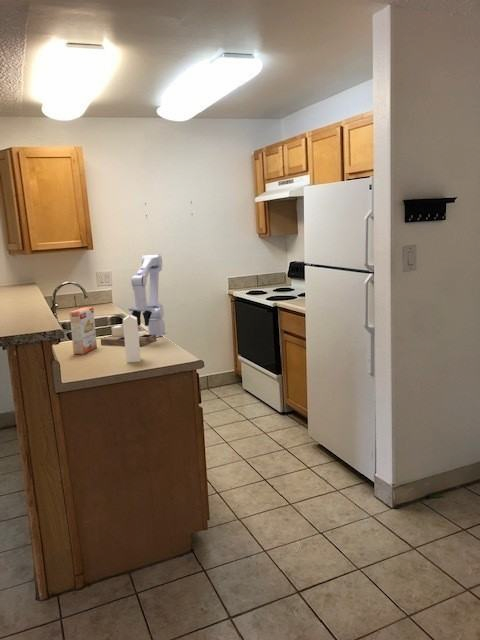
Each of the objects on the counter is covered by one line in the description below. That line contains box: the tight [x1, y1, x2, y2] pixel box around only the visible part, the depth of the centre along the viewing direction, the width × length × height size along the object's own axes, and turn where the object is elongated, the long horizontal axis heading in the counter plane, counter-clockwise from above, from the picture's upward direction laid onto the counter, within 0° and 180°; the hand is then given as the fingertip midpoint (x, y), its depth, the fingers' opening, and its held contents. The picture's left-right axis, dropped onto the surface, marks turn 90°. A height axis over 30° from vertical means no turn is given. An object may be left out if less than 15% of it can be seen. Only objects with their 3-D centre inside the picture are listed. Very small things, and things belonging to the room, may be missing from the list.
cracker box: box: [69, 306, 98, 355], centre depth 261 cm, size 14×6×21 cm, turn 168°
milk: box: [122, 310, 142, 363], centre depth 236 cm, size 6×6×22 cm
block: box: [110, 325, 124, 336], centre depth 282 cm, size 4×4×4 cm
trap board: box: [100, 333, 157, 348], centre depth 276 cm, size 15×24×3 cm, turn 66°
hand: (142, 325), depth 270 cm, fingers open, 4 cm apart
